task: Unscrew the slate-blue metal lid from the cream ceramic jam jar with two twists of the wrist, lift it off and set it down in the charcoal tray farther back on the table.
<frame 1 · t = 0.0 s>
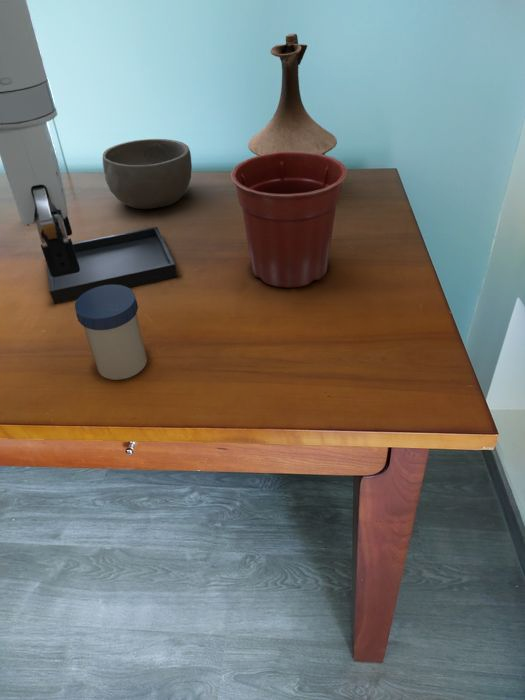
hand: (62, 254, 64), 14 cm above the table, tool pointing down, fingers open, 9 cm apart
flower pot: (289, 269, 85), on the table
garlic bulb: (47, 215, 104), on the table
tray: (111, 268, 87), on the table
bowl: (154, 200, 108), on the table
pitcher: (292, 193, 108), on the table
jar lid: (105, 302, 63), point 10 cm above the table, screwed on, not yet turned
jar: (122, 363, 69), on the table
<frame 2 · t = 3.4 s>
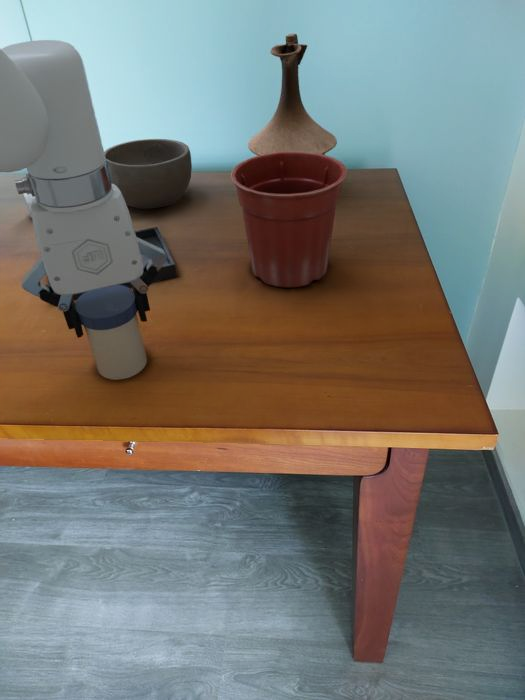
hand: (111, 322, 65), 7 cm above the table, tool pointing down, fingers closed on jar lid, 7 cm apart
jar lid: (105, 302, 63), point 10 cm above the table, screwed on, not yet turned, touching gripper
everything else where it was.
when the fingers open (6 cm above the table, at t = 5.9 s): jar lid stays where it is, point 10 cm above the table.
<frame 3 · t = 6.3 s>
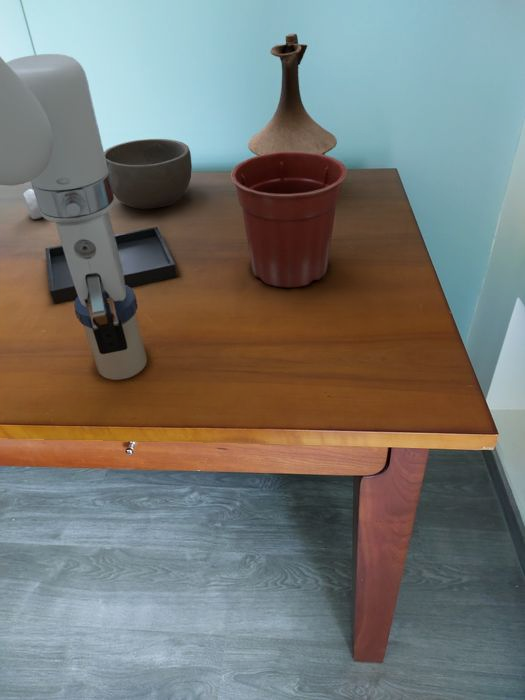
hand: (112, 328, 65), 6 cm above the table, tool pointing down, fingers open, 8 cm apart
jar lid: (105, 301, 62), point 10 cm above the table, turned 84° so far, risen 0.2 cm, still on its thread
everything else where it was.
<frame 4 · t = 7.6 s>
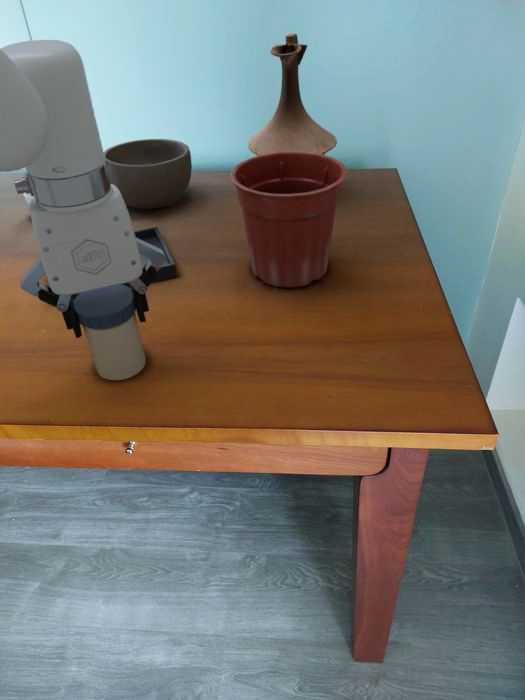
hand: (110, 322, 64), 7 cm above the table, tool pointing down, fingers closed on jar lid, 7 cm apart
jar lid: (104, 301, 62), point 10 cm above the table, turned 84° so far, risen 0.2 cm, still on its thread, touching gripper
everything else where it was.
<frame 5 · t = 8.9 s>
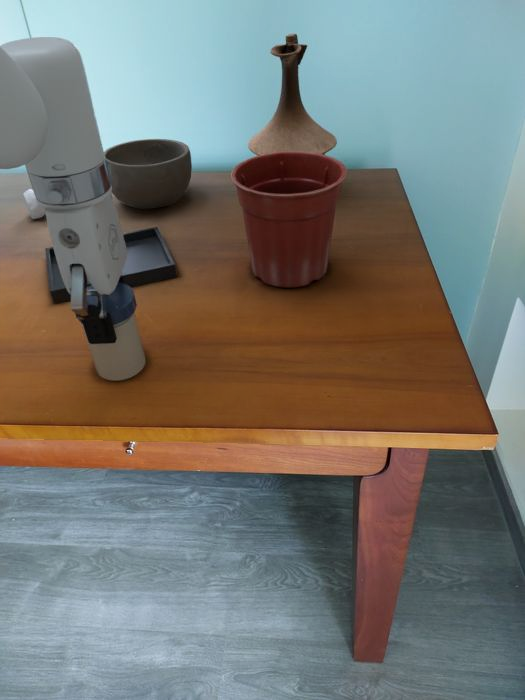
hand: (110, 321, 64), 7 cm above the table, tool pointing down, fingers closed on jar lid, 7 cm apart
jar lid: (104, 299, 62), point 10 cm above the table, off its thread, touching gripper
everything else where it was.
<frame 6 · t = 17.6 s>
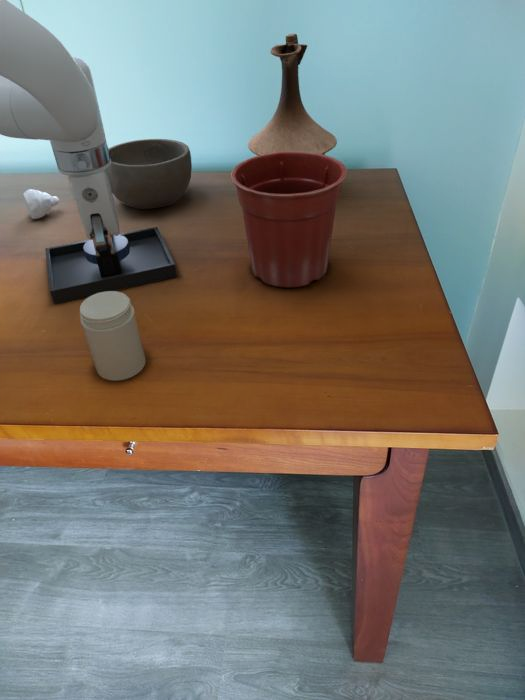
hand: (110, 262, 87), 1 cm above the table, tool pointing down, fingers closed on jar lid, 7 cm apart
jar lid: (106, 245, 85), point 4 cm above the table, off its thread, touching gripper
everything else where it was.
when the fingers open (2 cm above the table, at t = 27.4 s): jar lid drops 3 cm, resting on tray.
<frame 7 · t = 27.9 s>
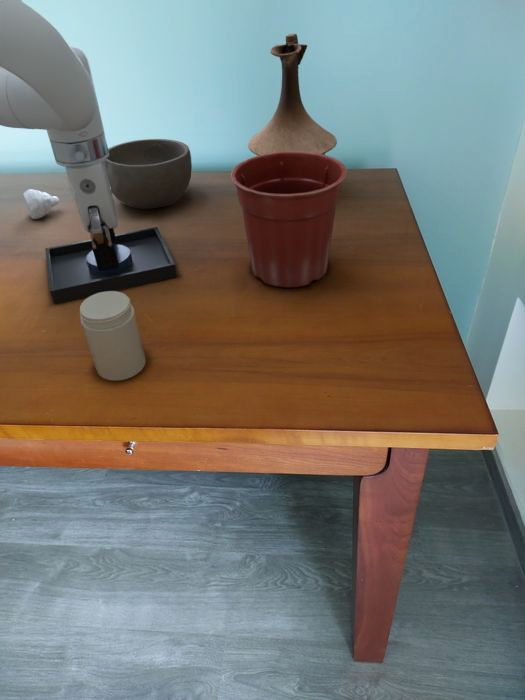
hand: (107, 253, 86), 3 cm above the table, tool pointing down, fingers open, 9 cm apart
jar lid: (108, 256, 86), point 2 cm above the table, off its thread, touching tray
everything else where it was.
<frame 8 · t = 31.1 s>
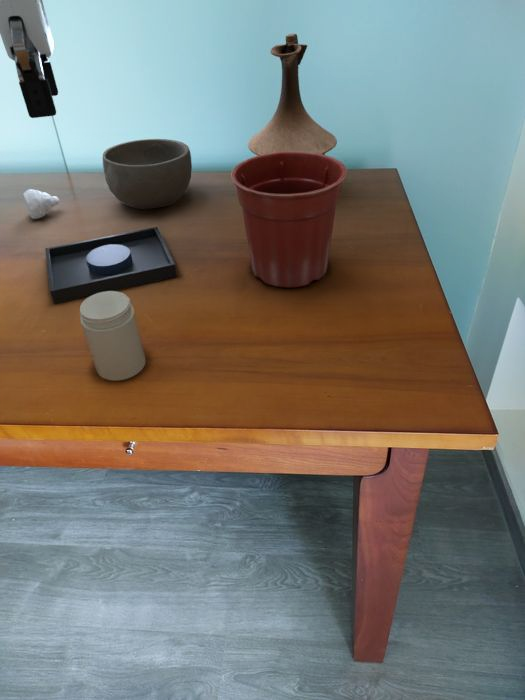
hand: (45, 105, 68), 26 cm above the table, tool pointing down, fingers open, 9 cm apart
nothing on the table moved.
at the end: jar lid inside the target area in the tray (0.1 cm from its centre), point 2.2 cm above the tray's base; the gripper is holding nothing; jar tilted 0° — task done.
